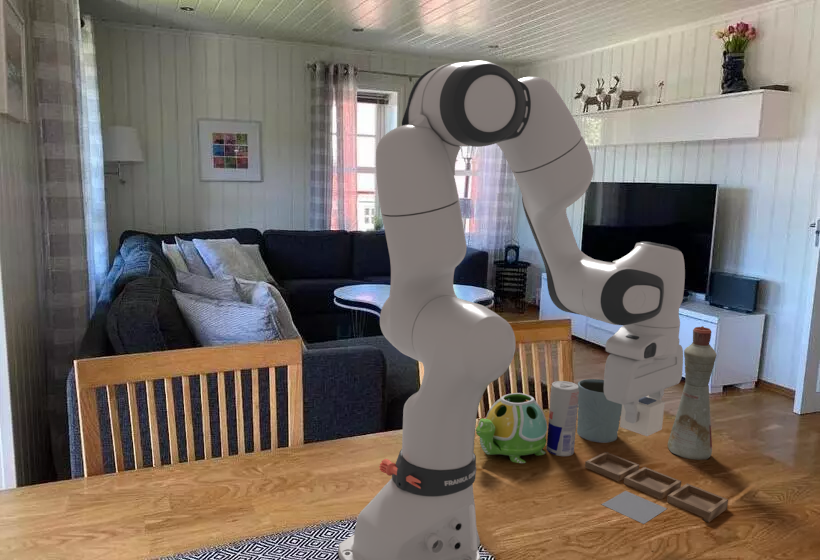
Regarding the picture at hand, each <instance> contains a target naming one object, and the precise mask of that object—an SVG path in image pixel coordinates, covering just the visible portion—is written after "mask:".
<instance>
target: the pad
mask: <svg viewBox="0 0 820 560" xmlns="http://www.w3.org/2000/svg"><path fill="white" fill-rule="evenodd" d="M601 506H604V507H605V508H608V509H610V510H612V511H615V512H616V513H619V514H621V515H623V516H626V517H627V518H629V519H631V520H634V521H636V522H638V523H640V524H642V525H645V524H646V523H648V522H649V521H651V520H652V519H654V518H656V517H657V516H659V515H660V514H661V513H664V512H665V511H666V510H667V509H668V508H667V507H664V506H662V505H659V504H658V503H655V502H653V501H650V500H648V499H645V498H643V497H642V496H638V495H636V494H634V493H632V492H629V491H628V490H624V491H622V492H621V493H619V494H617V495H615V496H614V497H612V498H610V499H608V500H606V501H605V502H602V503H601Z"/></svg>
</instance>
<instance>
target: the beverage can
mask: <svg viewBox="0 0 820 560" xmlns="http://www.w3.org/2000/svg"><path fill="white" fill-rule="evenodd" d="M578 387H579V386H578V383H574V382H572V381H565V380H557V381H553V382H551V387H550V399H549V409H548V410H549V412H548V422H547V435H546V451H547V452H548V453H549V454H552V455H554V456H559V457H570V456H572V455H573V454H575V453H574V452H575V443H576V441H575V440H576V433H577V431H576V430H577V420H578V395H579V389H578Z"/></svg>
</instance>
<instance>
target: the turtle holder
mask: <svg viewBox="0 0 820 560" xmlns="http://www.w3.org/2000/svg"><path fill="white" fill-rule="evenodd" d="M477 424H478V426H476V428H475V434H476V435H477V437H479V443H480V448H481V450H482V451H483V452H484V453H485V454H486V455H488V456H491V455H503V456H508V457H509V460H510V462H512V463H515V464H526V463H527V461H526V460H524V459H522V458H521V456H529V455H533V454H534V455H535V456H543V455H545V454H546V453H547V452H546V450H544V448H545V446H547V433H548V422H547V419H546V415H545V413H544V411H543V408H542V407H541V405H540V404H539V403H538V402H537V401H536V400H535V398H534V397H533V396H532V395H530V394H526V393H522V392H514V393H513V392H512V393H508V394H504V395H502V396H500V398H499V399H497V400H496V401H495V402H494V403H493V404H492V405H491V407H490V408H489V410H488V411H487V414H486V416H485V418H480V419H479V421H478V423H477Z"/></svg>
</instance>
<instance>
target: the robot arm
mask: <svg viewBox="0 0 820 560" xmlns="http://www.w3.org/2000/svg"><path fill="white" fill-rule="evenodd" d="M578 126H579V125H578V124H577V123H576V120H575V119H574V117H573V114H572V112H571V111H570V110H569V108H568V106H567V105H566V102H564V100H563V98H562V96H561V95H560V94H559V93H558V91H557V90H556V88H555V87H554V86H553V85H552V83H551V82H550V81H548V80H547V79H545V78H543V77H540V76H526V77H521V78H516V77H515V76H514V75H513V74H511V72H510V71H508V70H507V69H505V68H504V67H503V66H500V65H498V64H496V63H494V62H490V61H487V60H472V61H453V62H449V63H445V64H444V65H441V66H438V67H433V68H432V69H429V70H428V71H426V72H425V73H423V74H422V75H421V76H420V77H418V79H417V80H416V81H415V83H414V84H413V86H412V89H411V90H410V93H409V97H408V100H407V105H406V108H405V110H404V114H403V117H402V121H401V125H400V126H397V127H395V128H393V129H391V130H389V131H388V132H386V133H385V135H383V136H382V137H381V138H380V139H379V141H378V143H377V146H376V149H375V150H376V151H375V166H376V167H375V170H376V171H375V172H376V186H377V187H376V188H377V194H378V195H377V196H378V202H379V208H380V212H381V218H382V222H383V228H384V234H385V239H386V243H387V249H388V255H389V262H390V263H389V264H390V289H389V294H388V295H389V297H388V298H387V299H386V300H385V302H384V303H383V305H382V307H381V309H380V314H379V326H380V330H381V333H382V335H383V336H384V338H385V339H386V340H387V341H388V342H389V343H390V344H391V346H393V347H394V348H396V350H397V351H399V352H400V354H401V353H402V354H403V355H405V356H406V357H408V358H409V357H410V358H411V359H413V360H415V361H417V362H419V363H422V367H423V376H422V381H421V384H420V386H419V390H418V391H417V392H415V393H413V394H412V395H411V396H410V397H408V399H407V400H406V401H405V403H404V405H403V409H402V410H403V412H402V414H403V416H402V434H401V436H402V437H401V438H402V440H401V441H402V443H401V449H400V451H399V454H398V456H397V458H396V461H395V462H392V461H391V460H390V459H388V458H385V459H382V460H381V462H380V463H379V466H378V467H379V471H380V472H381V473H385V474H386V475H387V476H391V478H390V479H389V481H388V482H387V483H386V484H384V486H383V487H382V488H381V490H380V491H379V492H378V493H376V495H375V496H374V497H373V498H372V499H371V501H370V502H369V503H368V504H367V505H365V507H364V508H363V509H361V511H360V512H359V514H358V516H357V519H356V522H355V528H354V534H352V535H351V536H349V537H347V538H346V539H344V540H343V541H341V542H340V543H339V545H338V550H337V553H338V557H339V559H340V560H481V554H480V551H479V548H478V547H480V536H479V531H478V528H477V517H476V515H477V514H476V504H475V496H474V485H473V484H474V483H475V481H476V474H477V473H476V472H477V457H476V453H474V452H475V451H474V449H475V438H476V437H475V436H476V428H477V426H476V425H477V417H478V409H479V406H480V403H481V400H482V398H483V395H484V393H485V391H486V389H487V388H488V386H489V385H491V383H493V382H495V381H496V380H497V379H499V378H501V377H502V375H504V373H506V371H507V370H508V369H509V367H510V365H511V364H512V361H513V359H514V357H515V356H514V355H515V352H516V336H515V332H514V329H513V328H512V325H511V324H510V323H509V322H508V321H507V319H505V318H503V317H502V316H500V315H499V314H498V313H496V312H495V311H494V310H491V309H490V308H488V307H487V306H485V305H482V304H479V303H476V302H473V301H468V300H467V299H464V298H463V299H462V298H458V296H457V295H456V292H455V289H454V275H455V270H456V268H457V266H459V265H460V264H461V263H462V261H463V260H464V258H465V257H466V254H467V249H468V248H467V240H466V235H465V229H464V228H465V227H464V221H463V217H462V209H461V204H460V199H459V198H460V197H459V193H458V188H457V182H456V177H455V176H456V175H455V174H456V172H455V171H456V164H457V163H456V162H457V158H458V155H459V152H460V150H461V147H474V148H475V147H477V148H479V147H481V148H482V147H488V146H492V145H495V144H496V145H497V146H498V148H499V149H500V150H501V151H502V152H503V155H504V157H505V159H506V162H507V164H508V165H509V168H510V170H511V171H512V175H513V176H514V178H515V180H516V182H517V185H518V187H519V189H520V193H521V201H522V203H521V204H522V207H523V211H524V214H525V217H526V220H527V223H528V225H529V227H530V228H529V229H530V231H531V233H532V236H533V239H534V241H535V243H536V246H537V249H538V251H539V254H540V256H541V258H542V262H543V265H544V269H545V274H546V283H547V284H546V285H547V291H548V295H549V297H550V300H551V302H552V303H553V304H554V306H556V307H557V309H559V310H561V311H563V312H565V313H569V314H575V315H581V316H584V317H587V318H589V319H592V320H593V319H594V320H596V321H599V322H600V321H601V322H603V323H606V324H609V325H613V326H620V327H619V329H618V330H617V331H616V332H615V333H614V334H613V335H611V336H610V337H609V338H608V339H607V340H606V343H605V352H607V353H608V354H609V355H608V356H607V357H606V361H605V365H604V375H603V376H604V377H603V380H604V395H605V397H606V399H607V400H609V401H612V402H615V403H618V404H622V405H624V408H625V411H626V414H625V420H626V421H627V422H630V423H635V422H638V421H639V416H640V412H638V411H637V405H636V404H638V402H639V399H640V398H643V397H645V396H648V397H651V398H655V399H658V400H661V401H662V399H663V397H664V394H665V390H666V389H669V388H671V387H674V386H677V385H678V384H679V383H680V382H681V380H682V377H683V367H684V361H683V360H684V350H683V347H682V345H681V344H680V329H681V328H680V327H681V320H680V307H681V304H682V303H683V299H684V292H685V279H686V269H685V268H686V267H685V264H686V263H685V259H684V254H683V253H682V250H680V249H679V248H677V247H675V246H671V245H668V244H663V243H662V244H661V243H657V242H653V241H652V242H651V241H640V242H636V243H635V245H634V248H633V249H632V250H630V252H629V253H627V254H626V255H624V256H621V258H619V259H615V260H613V261H612V262H611V261H603V260H600V259H594V258H592V257H591V256H588V255H587V254H585V253H584V252H583V251H582V250H581V249H580V247H579V245H578V244H577V240H576V237H575V236H574V232H573V229H572V226H571V224H570V222H569V219H568V214H567V208H568V207H570V206H572V205H573V204H574V203H576V202H577V201H579V199H580V198H582V196H584V194H585V193H587V191H588V189H589V188H590V187H589V186H590V185H591V182H592V180H593V177H594V176H593V175H594V173H595V172H594V165H593V161H592V156H591V153H590V150H589V148H588V146H587V143H586V141H585V139H584V136H583V135H582V133H581V130H580V128H579V127H578Z"/></svg>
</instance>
